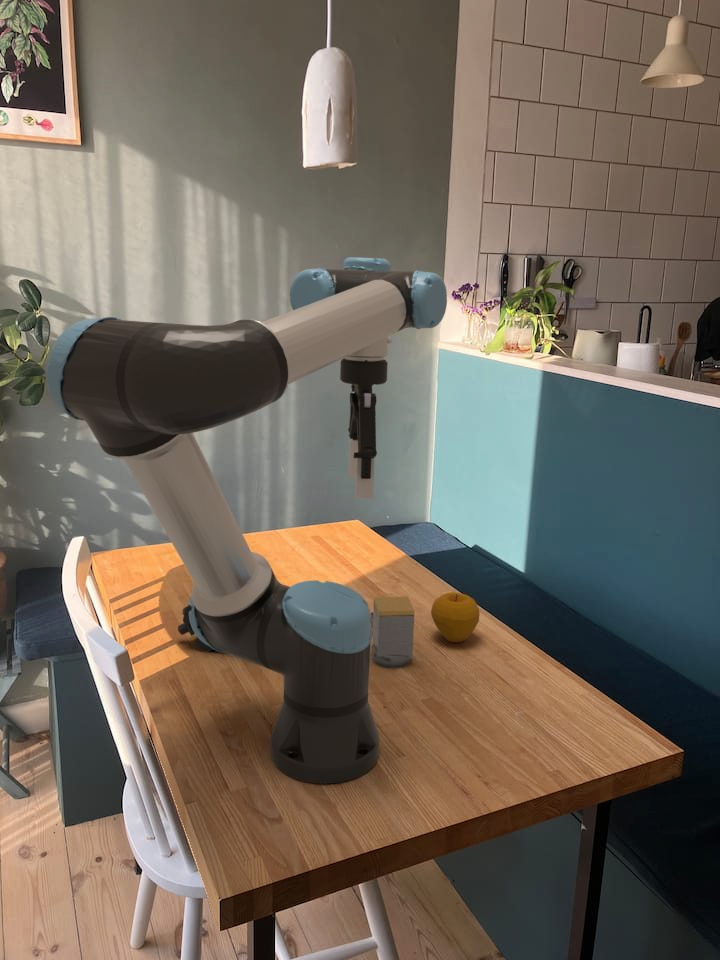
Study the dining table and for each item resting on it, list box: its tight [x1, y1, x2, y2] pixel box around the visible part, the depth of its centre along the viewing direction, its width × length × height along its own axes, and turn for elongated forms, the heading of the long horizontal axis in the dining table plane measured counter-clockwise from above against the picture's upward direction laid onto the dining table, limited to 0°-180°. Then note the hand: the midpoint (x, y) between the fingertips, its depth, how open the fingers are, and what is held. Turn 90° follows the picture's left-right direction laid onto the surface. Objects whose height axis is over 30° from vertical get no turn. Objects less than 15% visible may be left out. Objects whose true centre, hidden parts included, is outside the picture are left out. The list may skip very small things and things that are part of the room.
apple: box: [430, 591, 480, 643], centre depth 147 cm, size 9×9×9 cm
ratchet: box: [370, 611, 413, 669], centre depth 145 cm, size 19×7×7 cm, turn 7°
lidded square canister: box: [371, 596, 415, 657], centre depth 138 cm, size 6×6×8 cm
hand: (360, 487), depth 134 cm, fingers open, 13 cm apart
